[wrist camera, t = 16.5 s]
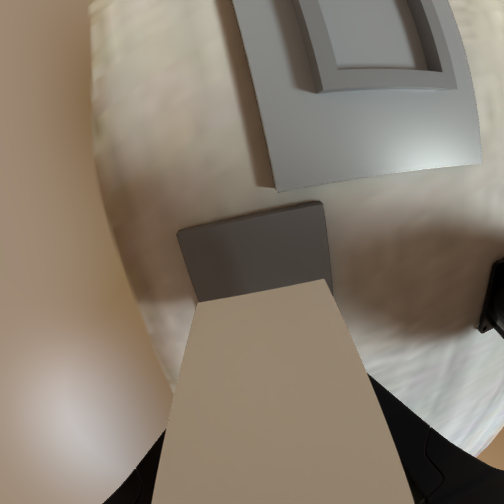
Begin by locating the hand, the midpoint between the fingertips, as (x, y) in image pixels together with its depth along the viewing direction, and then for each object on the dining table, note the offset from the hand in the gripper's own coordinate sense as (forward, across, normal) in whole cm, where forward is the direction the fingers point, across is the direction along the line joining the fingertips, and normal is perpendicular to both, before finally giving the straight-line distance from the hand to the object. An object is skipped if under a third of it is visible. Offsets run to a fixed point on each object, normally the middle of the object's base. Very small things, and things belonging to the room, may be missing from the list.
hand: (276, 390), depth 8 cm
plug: (+2, 0, 0) cm, 2 cm away
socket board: (+8, -7, -15) cm, 18 cm away
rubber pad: (+8, 0, 0) cm, 8 cm away
